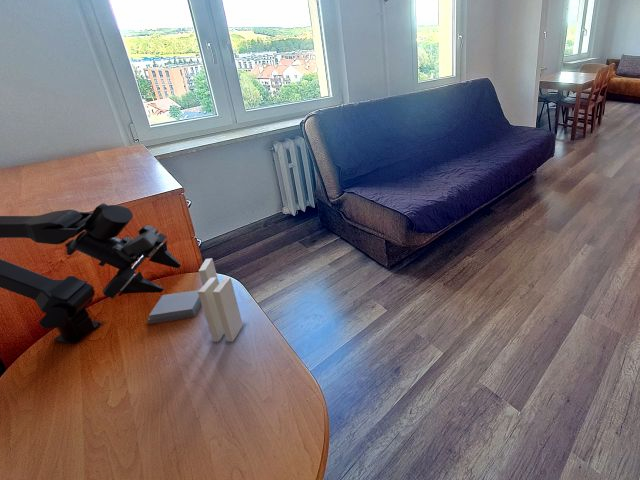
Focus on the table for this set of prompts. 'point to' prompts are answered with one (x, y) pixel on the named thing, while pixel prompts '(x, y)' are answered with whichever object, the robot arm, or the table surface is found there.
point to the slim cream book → (207, 271)
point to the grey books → (175, 307)
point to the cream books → (220, 309)
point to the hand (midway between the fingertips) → (171, 278)
